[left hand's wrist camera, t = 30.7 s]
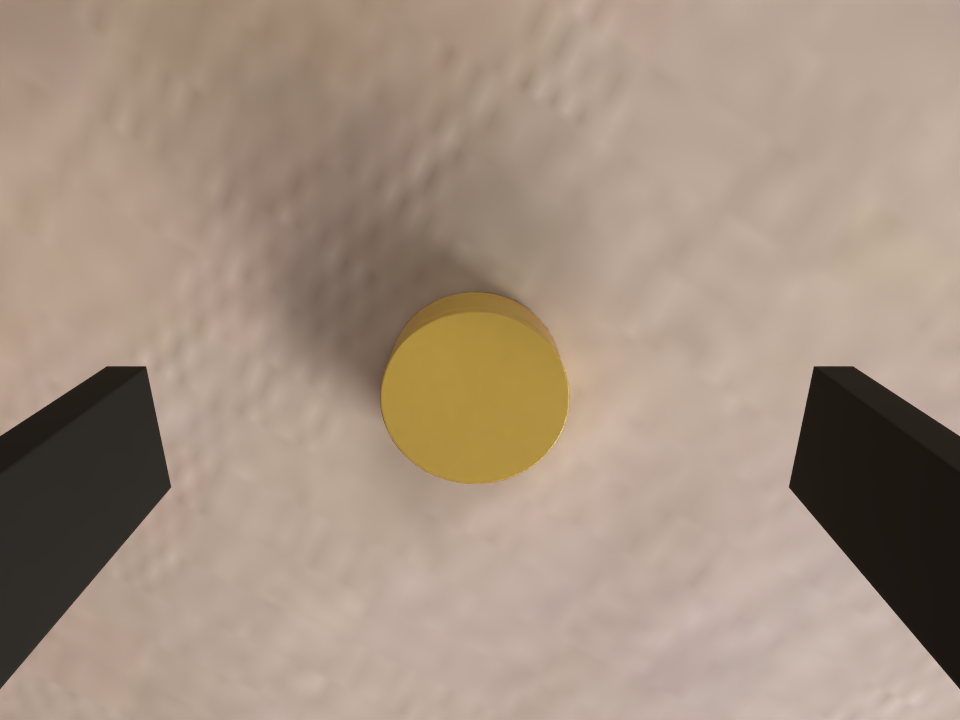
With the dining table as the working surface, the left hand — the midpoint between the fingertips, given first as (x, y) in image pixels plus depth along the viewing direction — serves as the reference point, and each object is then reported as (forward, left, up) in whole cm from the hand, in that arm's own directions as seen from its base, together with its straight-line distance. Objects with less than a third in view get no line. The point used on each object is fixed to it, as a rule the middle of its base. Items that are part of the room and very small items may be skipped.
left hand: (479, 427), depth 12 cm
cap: (0, 0, -2) cm, 2 cm away
